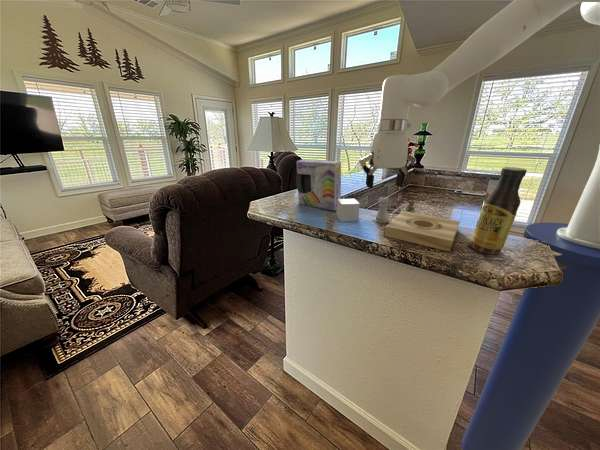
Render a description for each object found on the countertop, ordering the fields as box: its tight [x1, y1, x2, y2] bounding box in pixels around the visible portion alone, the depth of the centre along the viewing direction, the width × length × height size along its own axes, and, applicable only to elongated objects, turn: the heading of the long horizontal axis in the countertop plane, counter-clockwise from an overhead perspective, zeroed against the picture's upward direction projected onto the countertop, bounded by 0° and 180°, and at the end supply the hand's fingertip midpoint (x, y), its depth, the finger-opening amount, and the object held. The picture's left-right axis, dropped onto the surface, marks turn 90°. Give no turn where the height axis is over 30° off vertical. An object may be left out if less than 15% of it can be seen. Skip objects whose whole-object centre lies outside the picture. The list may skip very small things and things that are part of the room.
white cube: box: [335, 197, 361, 223], centre depth 79 cm, size 6×6×6 cm
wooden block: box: [384, 210, 461, 253], centre depth 67 cm, size 16×16×3 cm
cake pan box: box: [295, 158, 342, 212], centre depth 90 cm, size 19×5×18 cm, turn 48°
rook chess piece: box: [374, 196, 390, 224], centre depth 75 cm, size 4×4×8 cm
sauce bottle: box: [470, 166, 528, 255], centre depth 54 cm, size 7×6×20 cm
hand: (384, 186), depth 73 cm, fingers open, 9 cm apart
